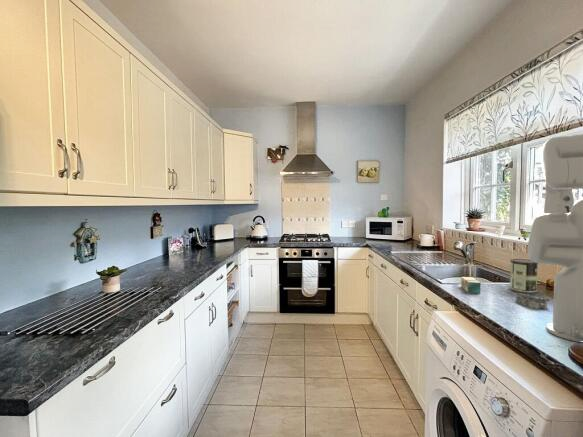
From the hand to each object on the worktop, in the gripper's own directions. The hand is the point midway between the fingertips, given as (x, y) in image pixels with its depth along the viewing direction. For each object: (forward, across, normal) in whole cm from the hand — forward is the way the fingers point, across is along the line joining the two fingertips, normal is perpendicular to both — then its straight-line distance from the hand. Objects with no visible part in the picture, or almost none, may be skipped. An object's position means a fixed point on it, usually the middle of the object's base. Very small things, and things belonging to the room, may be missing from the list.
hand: (556, 236), depth 111 cm
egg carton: (+30, +5, +6) cm, 30 cm away
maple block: (+27, +16, +22) cm, 39 cm away
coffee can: (+29, +27, -2) cm, 40 cm away
